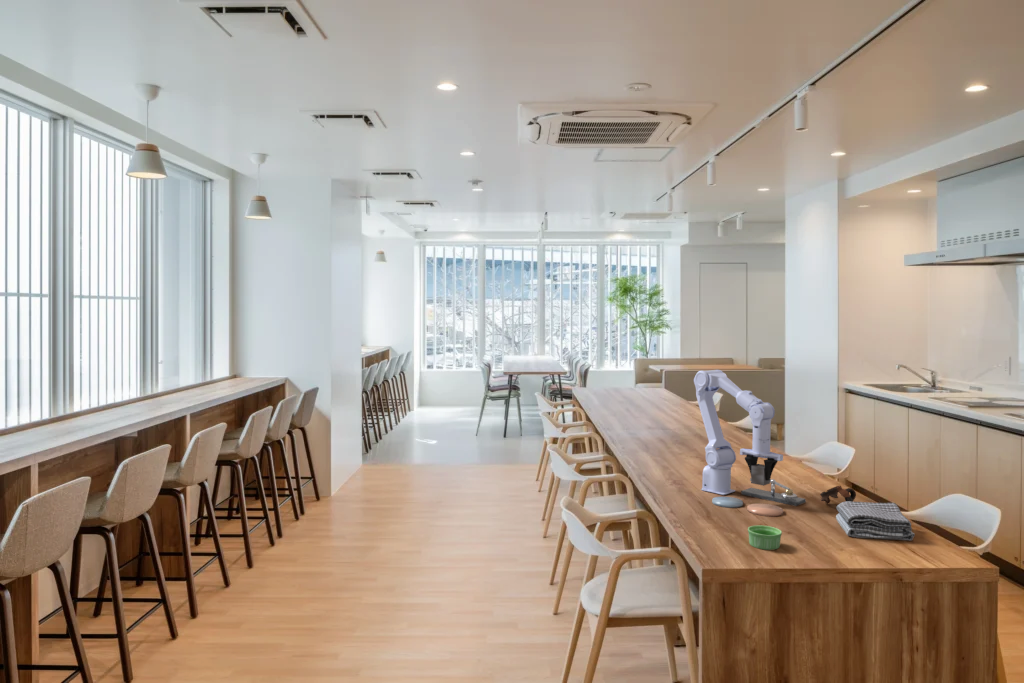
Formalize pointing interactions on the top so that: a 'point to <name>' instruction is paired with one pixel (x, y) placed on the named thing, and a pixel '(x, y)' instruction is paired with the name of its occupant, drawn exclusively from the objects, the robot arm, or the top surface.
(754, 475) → the block
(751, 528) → the ramekin
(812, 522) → the top surface
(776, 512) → the dish
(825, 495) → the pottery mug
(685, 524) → the top surface
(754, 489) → the balance
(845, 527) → the towel
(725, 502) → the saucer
